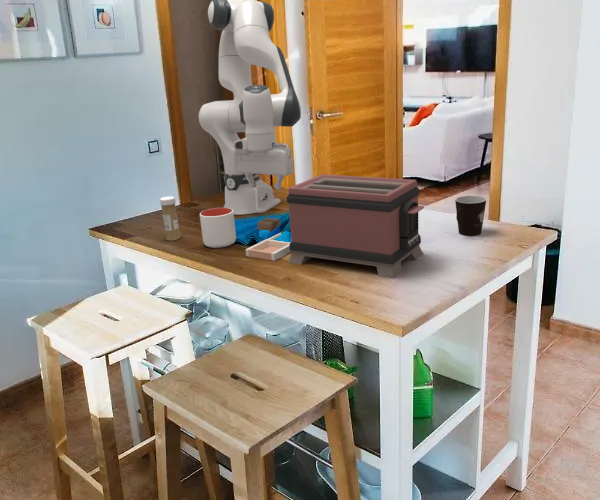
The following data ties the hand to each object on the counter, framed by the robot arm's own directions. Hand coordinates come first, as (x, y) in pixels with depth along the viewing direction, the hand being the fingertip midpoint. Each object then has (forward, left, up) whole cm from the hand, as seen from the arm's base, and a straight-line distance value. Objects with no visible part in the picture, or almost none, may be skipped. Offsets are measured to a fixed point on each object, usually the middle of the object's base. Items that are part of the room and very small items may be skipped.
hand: (265, 188), depth 182 cm
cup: (+12, -10, -15) cm, 22 cm away
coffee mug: (-23, +54, -15) cm, 61 cm away
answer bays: (+9, +10, -15) cm, 20 cm away
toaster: (+8, +36, -15) cm, 40 cm away
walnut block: (0, 0, -15) cm, 15 cm away
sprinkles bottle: (+14, -28, -15) cm, 35 cm away
